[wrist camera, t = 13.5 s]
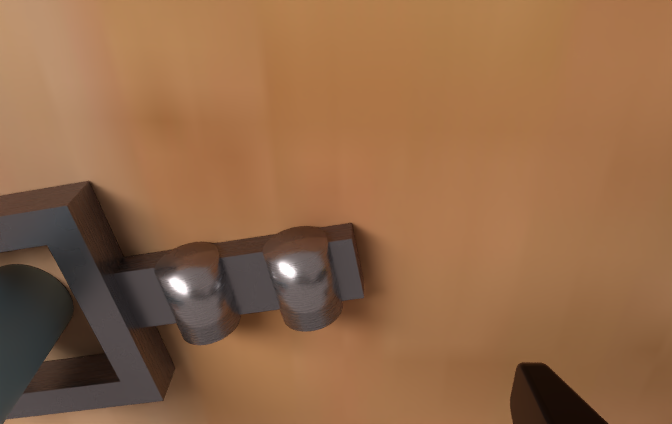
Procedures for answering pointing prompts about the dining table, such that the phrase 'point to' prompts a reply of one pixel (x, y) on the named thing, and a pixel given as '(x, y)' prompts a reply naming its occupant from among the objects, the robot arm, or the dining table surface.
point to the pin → (27, 327)
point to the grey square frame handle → (166, 293)
